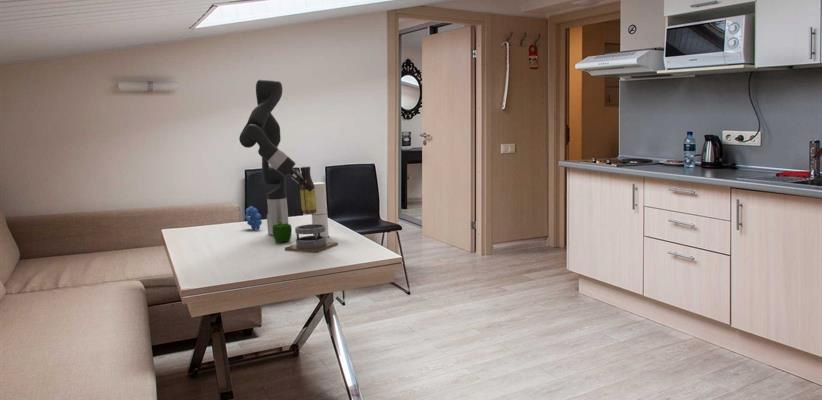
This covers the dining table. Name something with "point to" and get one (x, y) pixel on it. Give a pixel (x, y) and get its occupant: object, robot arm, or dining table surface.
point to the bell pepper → (282, 232)
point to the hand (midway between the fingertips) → (311, 189)
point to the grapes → (253, 217)
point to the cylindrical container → (320, 207)
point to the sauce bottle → (307, 193)
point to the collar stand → (310, 239)
